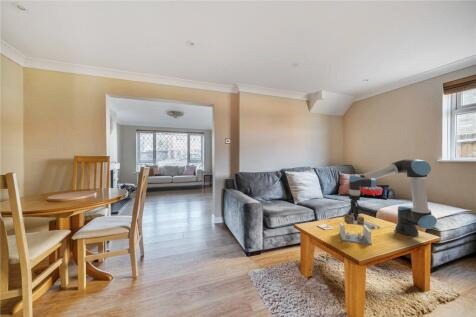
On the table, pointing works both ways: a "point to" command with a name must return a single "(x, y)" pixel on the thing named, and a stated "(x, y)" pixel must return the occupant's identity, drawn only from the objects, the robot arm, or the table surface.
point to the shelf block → (349, 219)
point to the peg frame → (356, 236)
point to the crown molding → (369, 225)
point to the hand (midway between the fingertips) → (354, 222)
